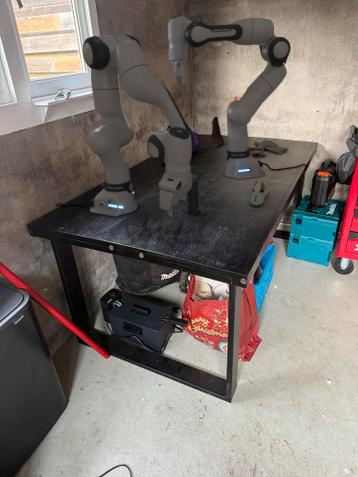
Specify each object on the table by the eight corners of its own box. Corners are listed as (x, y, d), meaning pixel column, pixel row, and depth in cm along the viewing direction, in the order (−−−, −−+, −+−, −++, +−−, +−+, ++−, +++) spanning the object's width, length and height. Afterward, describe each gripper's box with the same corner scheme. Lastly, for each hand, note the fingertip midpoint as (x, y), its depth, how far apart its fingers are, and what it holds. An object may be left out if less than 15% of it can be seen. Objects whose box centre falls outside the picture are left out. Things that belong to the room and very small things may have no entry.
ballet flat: (269, 188, 169) (270, 173, 165) (265, 208, 149) (266, 191, 145) (252, 187, 171) (253, 172, 167) (246, 206, 151) (247, 190, 147)
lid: (197, 177, 145) (197, 173, 144) (200, 181, 140) (200, 177, 139) (185, 179, 144) (184, 174, 143) (187, 183, 139) (187, 178, 138)
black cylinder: (197, 209, 152) (196, 174, 143) (200, 214, 148) (199, 178, 139) (187, 210, 151) (185, 175, 143) (189, 215, 147) (188, 179, 139)
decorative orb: (204, 151, 235) (204, 129, 228) (194, 156, 225) (193, 134, 217) (186, 149, 243) (186, 128, 235) (175, 154, 232) (174, 132, 224)
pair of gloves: (252, 159, 212) (252, 151, 209) (231, 150, 233) (231, 143, 230) (289, 152, 222) (290, 144, 219) (266, 144, 242) (267, 137, 240)
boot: (224, 140, 260) (225, 113, 250) (221, 148, 240) (222, 119, 230) (213, 140, 262) (213, 113, 252) (210, 148, 242) (209, 119, 232)
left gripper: (182, 163, 124) (180, 195, 132) (156, 185, 109) (156, 220, 118) (197, 166, 122) (195, 199, 130) (173, 190, 107) (172, 225, 115)
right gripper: (185, 55, 152) (186, 88, 159) (184, 55, 169) (185, 84, 176) (171, 56, 152) (173, 89, 159) (171, 55, 170) (173, 85, 176)
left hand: (176, 209), depth 124 cm, fingers open, 8 cm apart
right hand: (179, 86), depth 168 cm, fingers open, 8 cm apart
